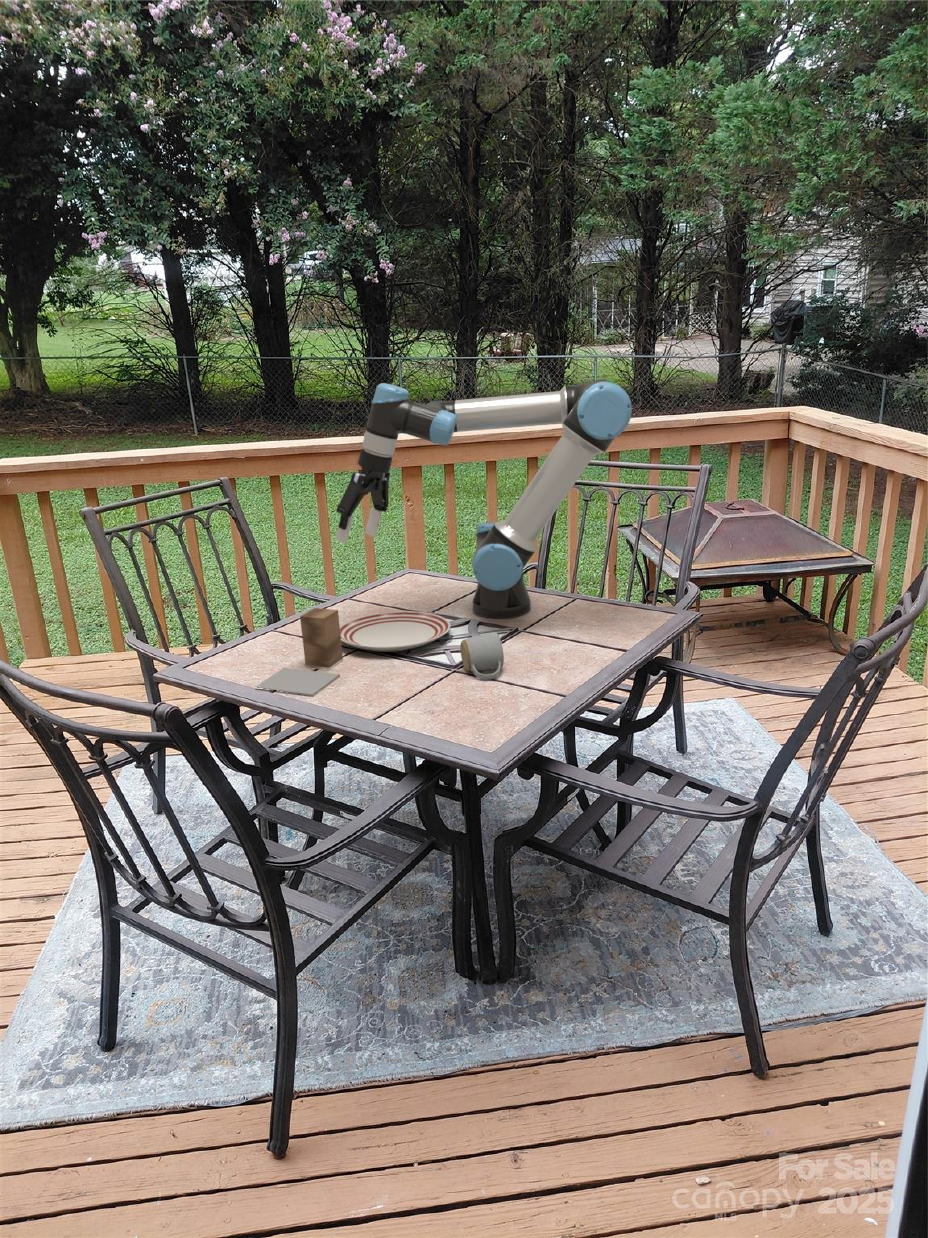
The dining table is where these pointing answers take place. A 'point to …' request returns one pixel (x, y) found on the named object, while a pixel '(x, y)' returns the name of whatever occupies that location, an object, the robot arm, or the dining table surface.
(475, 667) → the ceramic mug
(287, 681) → the grey mat
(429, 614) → the dinner plate
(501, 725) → the dining table surface
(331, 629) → the walnut block
